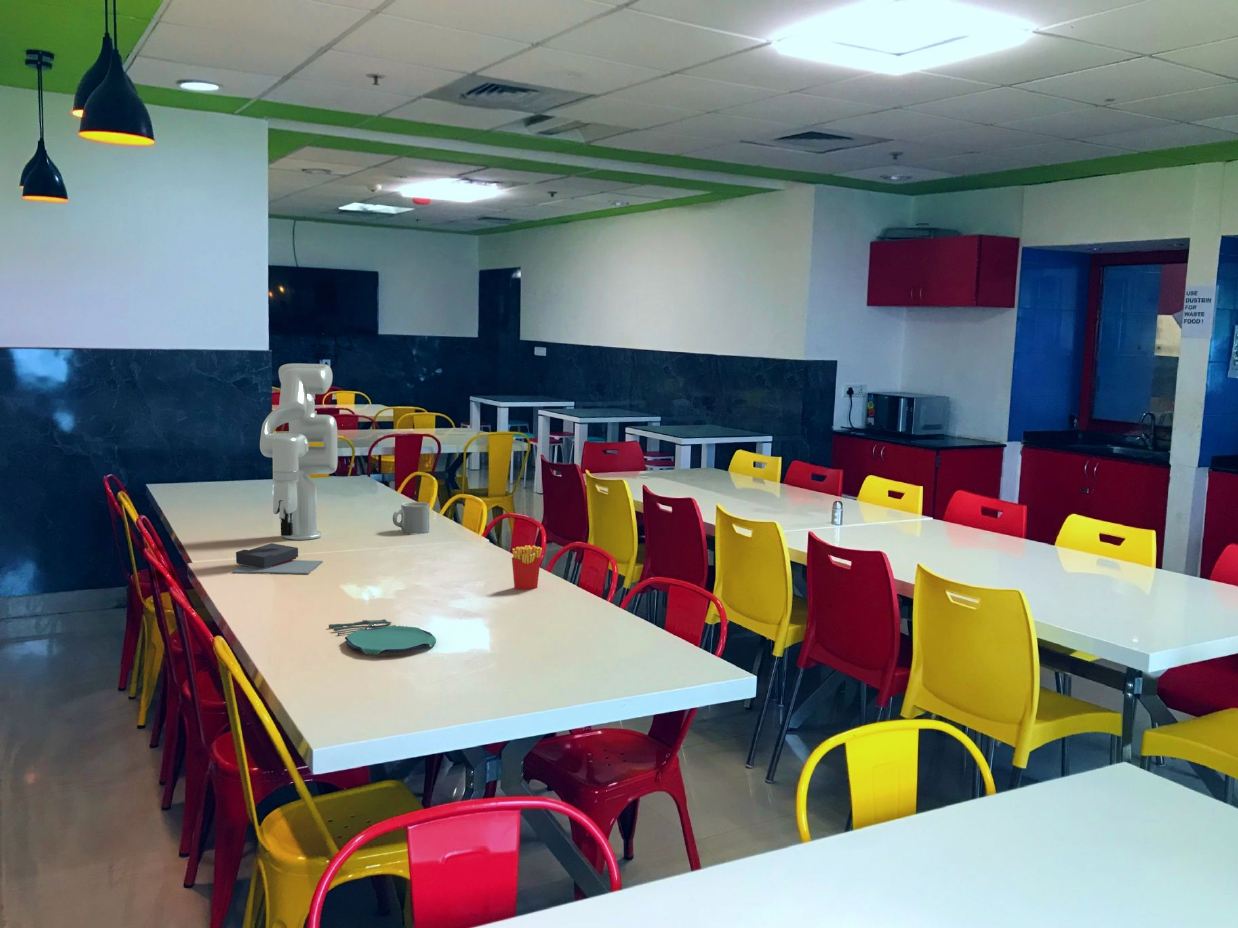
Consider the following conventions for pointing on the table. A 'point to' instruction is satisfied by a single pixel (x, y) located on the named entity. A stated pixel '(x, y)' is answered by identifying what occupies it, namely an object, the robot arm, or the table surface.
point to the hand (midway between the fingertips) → (286, 535)
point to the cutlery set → (385, 637)
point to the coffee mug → (413, 517)
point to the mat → (283, 568)
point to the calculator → (266, 556)
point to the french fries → (526, 566)
